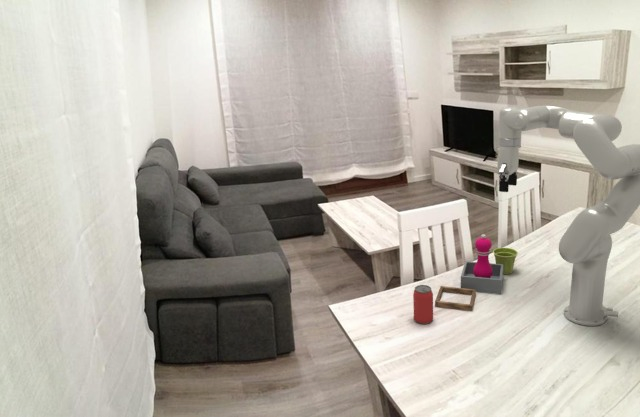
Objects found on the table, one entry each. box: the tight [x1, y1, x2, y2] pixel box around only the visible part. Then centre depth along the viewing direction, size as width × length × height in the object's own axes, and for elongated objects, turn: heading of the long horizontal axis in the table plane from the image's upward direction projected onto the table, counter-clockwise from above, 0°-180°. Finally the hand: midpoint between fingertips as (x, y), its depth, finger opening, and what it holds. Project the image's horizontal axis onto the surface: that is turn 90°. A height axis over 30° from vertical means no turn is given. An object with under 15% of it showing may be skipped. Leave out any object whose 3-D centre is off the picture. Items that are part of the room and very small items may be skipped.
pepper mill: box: [473, 233, 493, 278], centre depth 186 cm, size 7×7×20 cm
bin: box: [460, 260, 504, 295], centre depth 188 cm, size 15×15×6 cm
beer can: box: [412, 284, 434, 325], centre depth 166 cm, size 7×7×12 cm
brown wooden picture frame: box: [434, 285, 477, 312], centre depth 178 cm, size 13×13×2 cm
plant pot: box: [492, 247, 519, 275], centre depth 197 cm, size 9×9×9 cm
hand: (507, 188), depth 178 cm, fingers open, 9 cm apart
